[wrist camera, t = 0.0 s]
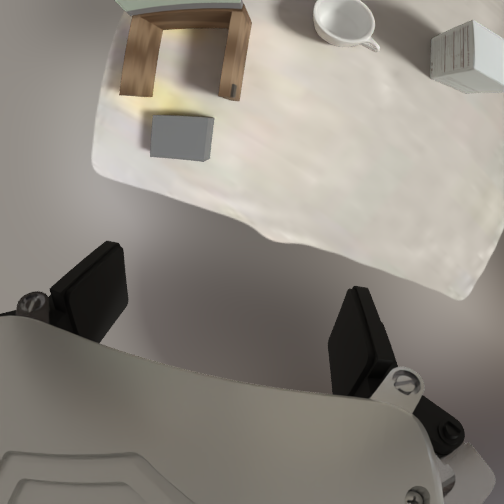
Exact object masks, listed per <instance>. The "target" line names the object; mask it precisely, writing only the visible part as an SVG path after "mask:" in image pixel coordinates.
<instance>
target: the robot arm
mask: <svg viewBox="0 0 504 504" xmlns="http://www.w3.org/2000/svg"><path fill="white" fill-rule="evenodd" d="M50 292H51V295H50V296H49V297H48V296H47V295H46V294H45V293H43V292H38V291H37V292H31V293H28V294H26V295H24V296H23V297H22V298H21V299H20V300H19V301H18V304H17V309H16V310H15V311H11V312H6V313H2V314H0V504H482V503H483V502H484V500H485V499H486V498H487V496H488V495H489V494H490V493H491V491H492V490H493V488H494V486H495V476H494V473H493V471H492V470H491V469H490V467H489V466H488V465H487V464H486V462H485V461H484V460H483V459H482V457H481V456H480V455H479V454H478V452H477V451H476V450H475V449H474V448H473V446H472V445H471V444H470V443H469V442H468V443H467V444H465V442H464V437H465V434H464V429H463V427H462V425H461V423H460V422H459V421H458V420H456V419H455V418H454V417H453V416H451V415H450V414H448V413H447V412H446V411H444V410H443V409H441V408H440V407H439V406H437V405H436V404H434V403H433V402H431V401H430V400H429V399H427V398H426V397H425V396H423V395H422V394H423V392H424V382H423V380H422V378H421V377H420V376H419V374H418V373H416V372H415V371H414V370H412V369H409V368H406V367H398V365H397V362H396V360H395V356H394V353H393V350H392V347H391V344H390V341H389V339H388V336H387V333H386V330H385V327H384V325H383V323H382V322H381V321H380V318H379V315H378V313H377V310H376V307H375V305H374V302H373V300H372V297H371V294H370V292H369V290H368V288H365V287H358V286H354V287H353V288H352V289H348V291H347V293H346V296H345V299H344V301H343V304H342V307H341V309H340V312H339V315H338V317H337V320H336V322H335V325H334V328H333V330H332V333H331V335H330V337H329V341H328V351H329V361H330V370H331V381H332V392H333V394H323V393H313V392H305V391H298V390H290V389H283V388H276V387H269V386H263V385H256V384H250V383H245V382H240V381H235V380H230V379H225V378H220V377H216V376H211V375H206V374H202V373H198V372H193V371H189V370H185V369H181V368H177V367H173V366H170V365H166V364H163V363H159V362H156V361H152V360H149V359H145V358H142V357H139V356H135V355H132V354H129V353H126V352H123V351H119V350H117V349H113V348H111V347H108V346H105V345H102V344H99V343H100V342H101V340H102V339H103V338H104V336H105V335H106V333H107V332H108V331H109V329H110V328H111V326H112V325H113V324H114V323H115V321H116V320H117V318H118V317H119V316H120V314H121V313H122V312H123V310H124V309H125V308H126V306H127V304H128V293H127V284H126V275H125V264H124V252H123V248H122V247H121V246H120V244H119V243H116V242H111V241H106V242H104V243H103V244H102V245H101V246H99V247H98V248H97V249H95V250H94V251H93V252H92V253H91V254H90V255H88V256H87V257H86V258H84V259H83V260H82V261H81V262H80V263H79V264H77V265H76V266H75V267H74V268H73V269H71V270H70V271H69V272H68V273H67V274H66V275H65V276H63V277H62V278H61V279H60V280H59V281H58V282H57V283H56V284H54V285H53V286H52V287H51V288H50Z"/></svg>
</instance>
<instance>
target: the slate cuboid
mask: <svg viewBox="0 0 504 504" xmlns="http://www.w3.org/2000/svg"><path fill="white" fill-rule="evenodd" d="M213 125H214V118H209V117H195V116H177V115H153V121H152V134H151V149H150V157H160V158H172V159H183V160H193V161H202V162H204V161H206V160H208V159H210V152H211V142H212V134H213Z"/></svg>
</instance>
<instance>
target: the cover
mask: <svg viewBox="0 0 504 504" xmlns="http://www.w3.org/2000/svg"><path fill="white" fill-rule="evenodd" d="M115 2H116V3H117V4H118V5H119V6H121V8H122V9H123V10H124V11H125V12H127V13H128V14H129V15H130V16H132V15H138V14H144V13H152V12H160V11H169V10H182V9H201V8H234V9H242V6H243V1H242V0H115Z"/></svg>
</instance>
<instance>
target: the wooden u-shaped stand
mask: <svg viewBox="0 0 504 504" xmlns="http://www.w3.org/2000/svg"><path fill="white" fill-rule="evenodd" d="M251 25H252V22H251V20H250V17H249V15H248V12H247V10H246V8H245V5H244V4H243V6H242V9H234V8H201V9H182V10H169V11H160V12H152V13H144V14H138V15H133V16H132V21H131V25H130V30H129V35H128V40H127V46H126V51H125V57H124V64H123V70H122V78H121V85H120V94H119V95H126V96H139V97H152V96H153V88H154V80H155V73H156V66H157V60H158V54H159V48H160V42H161V37H162V32H163V30H169V29H188V28H228V29H229V31H228V37H227V43H226V49H225V55H224V61H223V67H222V74H221V80H220V87H219V94H218V96H220V97H223V98H226V99H228V100H232V101H240V94H241V87H242V80H243V74H244V67H245V61H246V55H247V48H248V42H249V36H250V30H251Z"/></svg>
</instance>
